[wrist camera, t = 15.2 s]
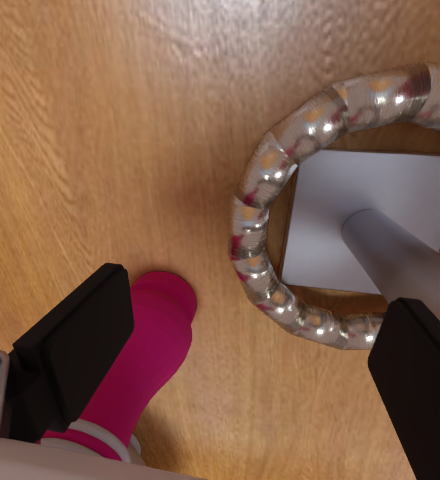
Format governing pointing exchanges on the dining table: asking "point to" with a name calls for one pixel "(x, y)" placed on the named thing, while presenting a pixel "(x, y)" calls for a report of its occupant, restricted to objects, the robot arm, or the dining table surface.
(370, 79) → the ring
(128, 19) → the dining table surface
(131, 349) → the pepper mill
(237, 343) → the dining table surface
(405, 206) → the stand
